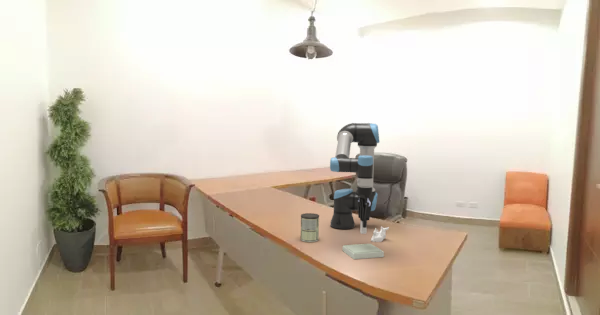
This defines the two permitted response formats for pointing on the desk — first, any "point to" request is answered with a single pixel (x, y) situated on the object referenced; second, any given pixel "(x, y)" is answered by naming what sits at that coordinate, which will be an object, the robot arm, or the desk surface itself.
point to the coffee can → (309, 227)
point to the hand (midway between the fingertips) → (363, 233)
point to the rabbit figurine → (379, 235)
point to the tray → (363, 251)
